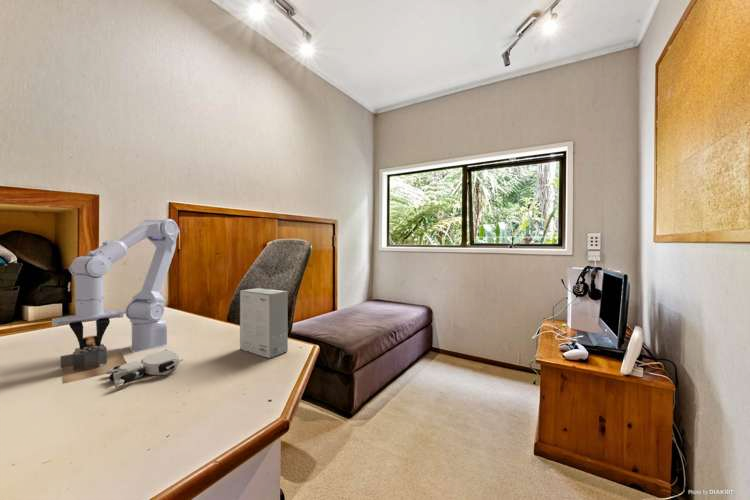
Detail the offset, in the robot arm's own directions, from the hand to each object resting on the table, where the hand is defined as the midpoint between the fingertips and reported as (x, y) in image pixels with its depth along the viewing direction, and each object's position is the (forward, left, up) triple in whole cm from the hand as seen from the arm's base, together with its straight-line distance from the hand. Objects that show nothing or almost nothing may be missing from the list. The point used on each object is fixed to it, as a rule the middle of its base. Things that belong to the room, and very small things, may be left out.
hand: (90, 347), depth 86 cm
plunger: (0, 0, -4) cm, 4 cm away
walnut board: (-1, +1, -6) cm, 6 cm away
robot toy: (-10, +17, -6) cm, 21 cm away
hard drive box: (-41, +21, -6) cm, 46 cm away
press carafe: (+1, 0, -5) cm, 5 cm away
